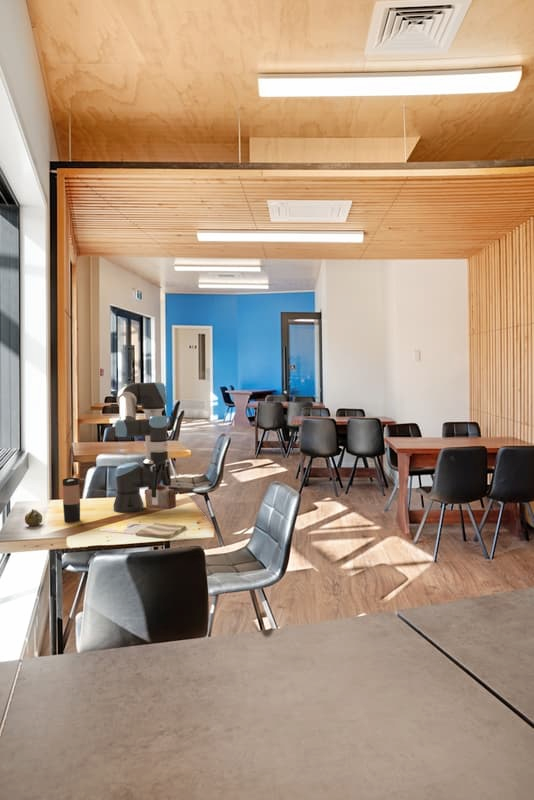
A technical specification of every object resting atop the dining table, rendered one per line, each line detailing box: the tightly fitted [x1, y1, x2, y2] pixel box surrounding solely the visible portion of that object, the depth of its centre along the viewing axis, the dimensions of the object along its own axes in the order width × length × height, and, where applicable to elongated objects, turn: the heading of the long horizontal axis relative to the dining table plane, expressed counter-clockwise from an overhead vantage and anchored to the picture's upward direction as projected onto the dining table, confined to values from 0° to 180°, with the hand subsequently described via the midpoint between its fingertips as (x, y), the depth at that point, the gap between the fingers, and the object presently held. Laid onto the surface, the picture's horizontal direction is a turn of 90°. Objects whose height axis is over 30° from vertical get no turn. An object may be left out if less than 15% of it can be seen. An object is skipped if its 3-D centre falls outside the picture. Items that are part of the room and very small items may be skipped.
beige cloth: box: [135, 522, 187, 539], centre depth 262 cm, size 16×16×1 cm
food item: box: [144, 485, 177, 510], centre depth 261 cm, size 14×8×10 cm, turn 66°
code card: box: [98, 521, 152, 535], centre depth 270 cm, size 16×18×1 cm
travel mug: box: [62, 477, 81, 524], centre depth 283 cm, size 8×8×20 cm
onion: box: [24, 508, 43, 527], centre depth 276 cm, size 8×8×8 cm
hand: (160, 502), depth 261 cm, fingers closed on food item, 8 cm apart
